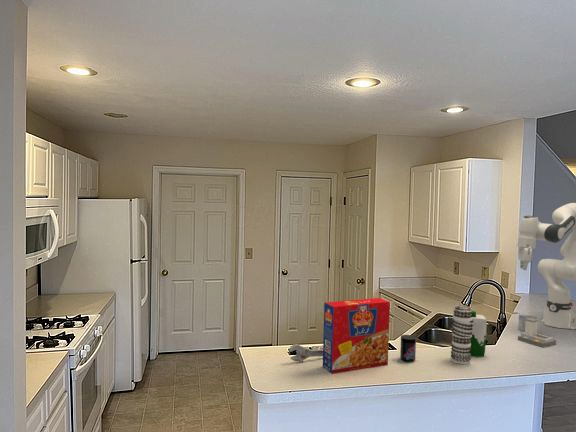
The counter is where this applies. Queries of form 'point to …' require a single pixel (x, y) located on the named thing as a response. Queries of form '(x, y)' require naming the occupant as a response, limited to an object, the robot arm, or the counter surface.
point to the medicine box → (524, 321)
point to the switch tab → (531, 326)
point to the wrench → (304, 353)
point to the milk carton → (478, 335)
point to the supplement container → (408, 348)
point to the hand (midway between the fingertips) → (523, 269)
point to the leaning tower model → (461, 334)
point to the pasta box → (355, 334)
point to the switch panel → (537, 340)
